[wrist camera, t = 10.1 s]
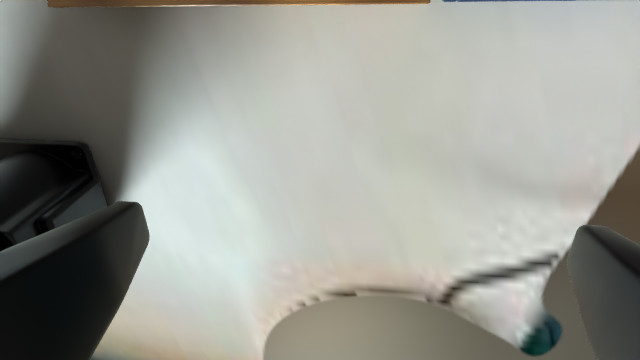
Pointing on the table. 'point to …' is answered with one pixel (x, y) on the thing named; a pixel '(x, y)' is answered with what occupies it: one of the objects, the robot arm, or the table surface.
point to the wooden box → (217, 2)
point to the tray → (498, 0)
